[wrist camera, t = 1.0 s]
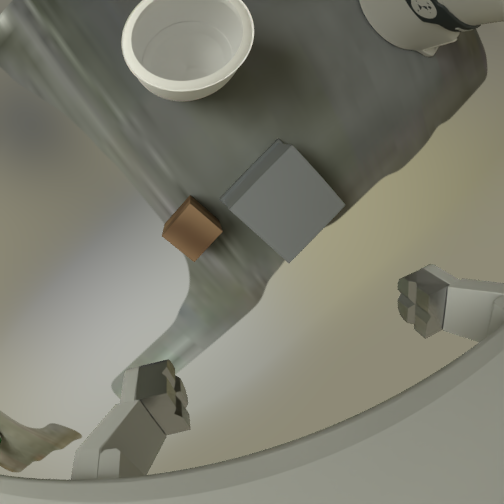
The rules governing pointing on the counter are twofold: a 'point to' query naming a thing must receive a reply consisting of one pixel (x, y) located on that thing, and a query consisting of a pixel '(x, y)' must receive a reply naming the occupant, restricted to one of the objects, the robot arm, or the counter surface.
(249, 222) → the pedestal
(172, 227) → the cube
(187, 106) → the counter surface
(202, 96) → the jar
